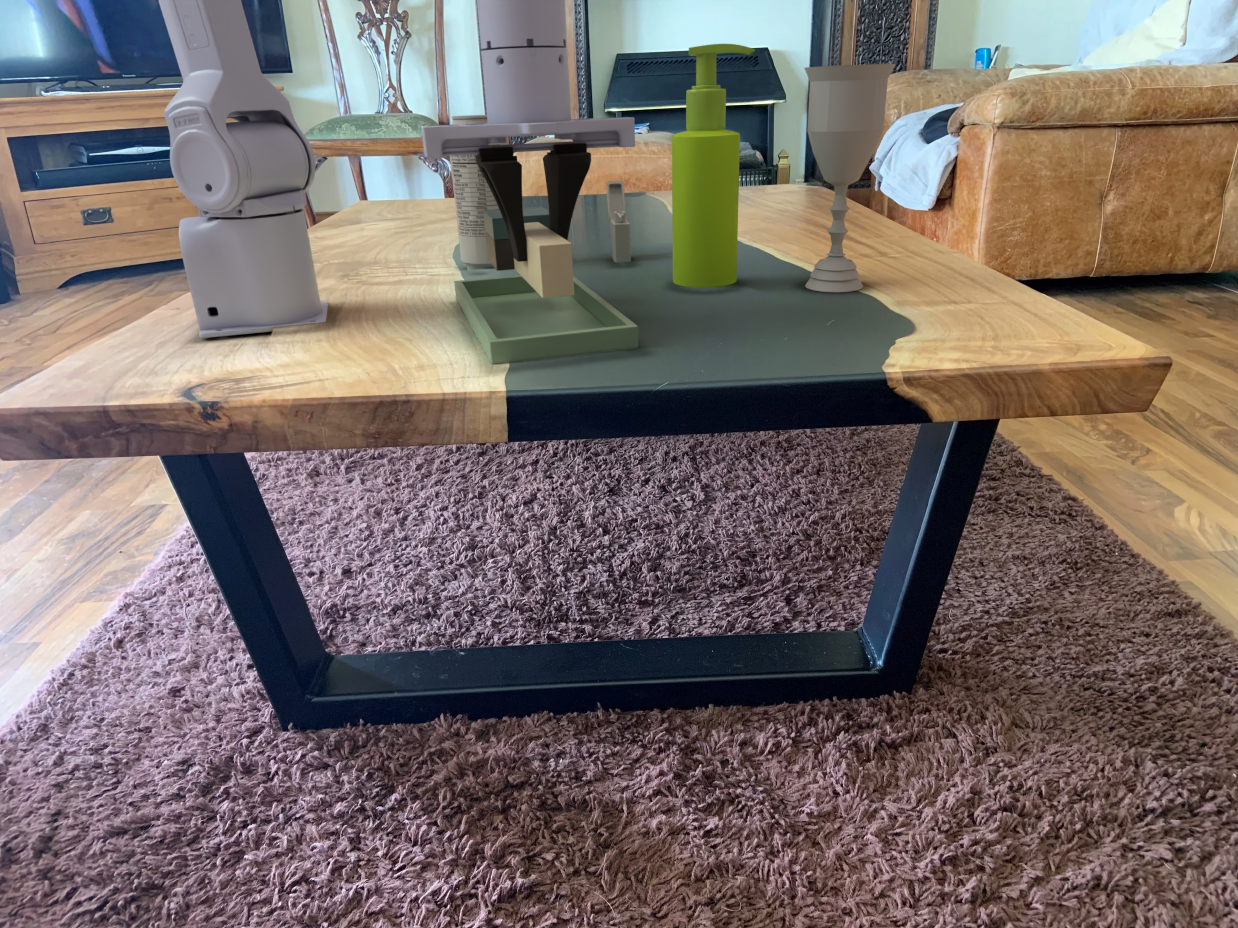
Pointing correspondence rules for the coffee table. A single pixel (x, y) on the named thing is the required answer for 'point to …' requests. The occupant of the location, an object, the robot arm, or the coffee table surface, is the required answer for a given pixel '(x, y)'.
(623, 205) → the lighter
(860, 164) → the chalice
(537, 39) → the robot arm
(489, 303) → the tray
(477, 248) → the energy drink can
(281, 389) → the coffee table surface
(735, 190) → the soap dispenser
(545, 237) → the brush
